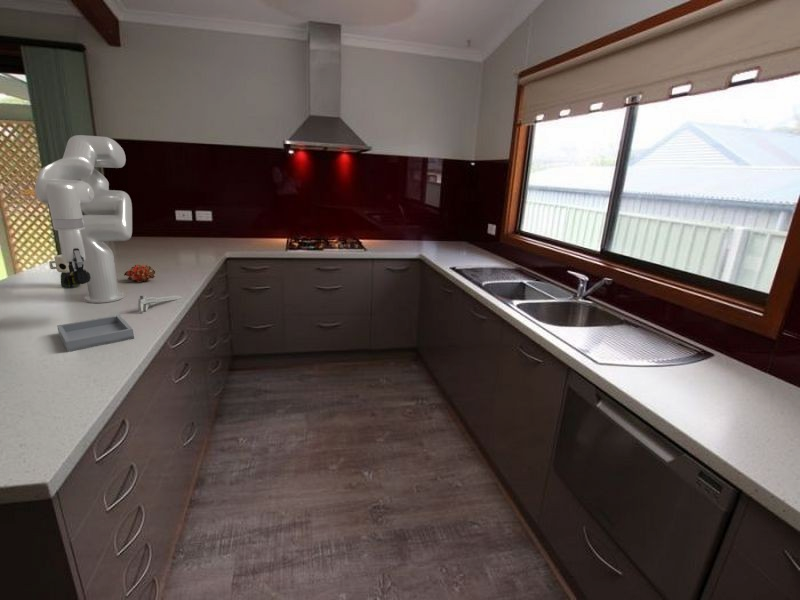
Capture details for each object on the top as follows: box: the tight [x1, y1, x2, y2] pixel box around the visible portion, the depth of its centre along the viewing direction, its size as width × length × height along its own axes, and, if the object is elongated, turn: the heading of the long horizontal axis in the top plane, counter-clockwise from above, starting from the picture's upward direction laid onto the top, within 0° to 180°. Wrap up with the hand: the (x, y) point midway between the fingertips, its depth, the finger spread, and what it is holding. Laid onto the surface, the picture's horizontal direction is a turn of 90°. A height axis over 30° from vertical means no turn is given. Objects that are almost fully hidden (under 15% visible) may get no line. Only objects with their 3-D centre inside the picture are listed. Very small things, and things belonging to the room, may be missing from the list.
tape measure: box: [63, 271, 91, 285], centre depth 133 cm, size 7×7×4 cm
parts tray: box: [56, 314, 135, 353], centre depth 126 cm, size 16×16×3 cm
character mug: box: [48, 254, 81, 288], centre depth 170 cm, size 11×7×13 cm, turn 129°
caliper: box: [137, 294, 183, 314], centre depth 156 cm, size 21×1×6 cm, turn 169°
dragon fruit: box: [123, 263, 156, 284], centre depth 184 cm, size 8×8×12 cm
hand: (79, 279), depth 133 cm, fingers closed on tape measure, 7 cm apart
